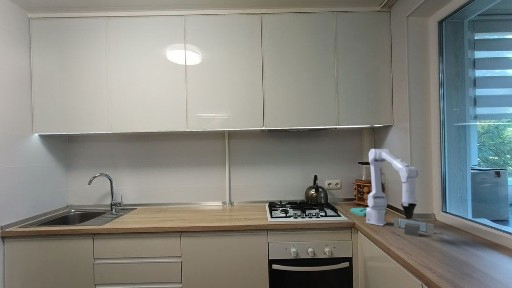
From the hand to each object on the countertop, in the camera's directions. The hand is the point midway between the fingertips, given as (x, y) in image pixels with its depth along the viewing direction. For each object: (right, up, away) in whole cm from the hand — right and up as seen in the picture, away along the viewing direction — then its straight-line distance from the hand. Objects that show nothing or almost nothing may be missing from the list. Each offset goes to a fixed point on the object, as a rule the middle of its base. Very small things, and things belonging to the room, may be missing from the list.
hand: (409, 218), depth 134 cm
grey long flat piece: (+9, -10, +13) cm, 19 cm away
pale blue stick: (+10, -9, +13) cm, 18 cm away
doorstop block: (+5, -10, +5) cm, 12 cm away
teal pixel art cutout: (0, -11, +51) cm, 52 cm away
